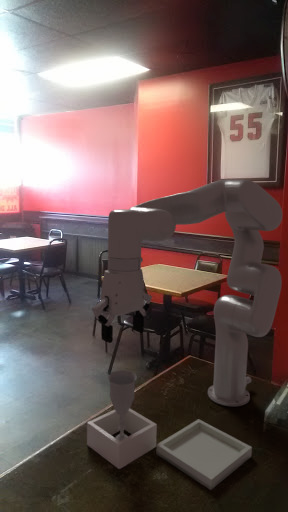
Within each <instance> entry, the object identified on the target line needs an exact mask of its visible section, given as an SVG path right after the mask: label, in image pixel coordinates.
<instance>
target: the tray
mask: <svg viewBox="0 0 288 512" xmlns="http://www.w3.org/2000/svg"><path fill="white" fill-rule="evenodd" d="M252 450H253V447H252V446H251V445H250V444H247V443H245V442H243V441H241V440H239V439H237V438H236V437H234V436H233V435H230V434H228V433H226V432H224V431H222V430H220V429H219V428H216V427H215V426H212V425H211V424H209V423H206V422H205V421H203V420H201V419H199V418H198V419H196V420H195V421H193V422H191V423H190V424H188V425H187V426H185V427H183V428H182V429H180V430H179V431H177V432H175V433H173V434H172V435H170V436H168V437H167V438H165V439H163V440H162V441H160V442H158V443H156V454H155V455H157V456H158V457H160V458H161V459H163V460H165V461H166V462H168V463H170V464H171V465H173V467H175V468H177V469H178V470H179V471H181V472H183V473H184V474H186V475H187V476H188V477H190V478H192V479H193V480H194V481H196V482H198V483H200V484H201V485H202V486H204V487H205V488H207V489H209V490H210V491H212V490H213V489H215V487H217V486H218V485H219V484H220V483H221V482H222V481H224V480H225V479H226V478H227V477H228V476H230V475H231V474H232V473H233V472H235V471H236V470H237V469H239V467H241V466H242V465H244V463H246V462H247V461H248V460H249V459H250V458H251V457H252V453H253V451H252Z"/></svg>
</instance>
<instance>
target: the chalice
mask: <svg viewBox="0 0 288 512" xmlns="http://www.w3.org/2000/svg"><path fill="white" fill-rule="evenodd" d="M137 377H138V376H137V374H136V373H135V372H132V371H130V370H116V371H113V372H112V373H110V374H109V375H108V378H107V379H108V381H109V397H110V401H111V403H112V404H111V405H112V406H113V409H114V410H116V412H117V414H119V415H120V419H119V422H120V426H119V427H118V429H119V430H120V431H119V434H117V435H115V437H114V438H116V439H117V440H119V441H121V440H123V439H125V438H127V437H129V436H128V435H127V434H125V433H124V431H125V430H124V429H125V426H124V422H125V419H124V414H126V413H127V412H128V410H129V409H131V407H132V405H133V403H134V402H133V401H134V399H135V389H136V388H135V387H136V386H135V383H136V381H137Z"/></svg>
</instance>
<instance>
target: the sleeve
mask: <svg viewBox="0 0 288 512" xmlns="http://www.w3.org/2000/svg"><path fill="white" fill-rule="evenodd" d="M119 419H120V415H119V414H117V412H116V410H115V409H113V410H111V411H108V412H106V413H105V414H102V415H100V416H98V417H95V418H93V419H91V420H89V421H87V422H86V426H87V427H86V445H87V446H88V447H89V448H91V449H92V450H93V451H95V452H96V453H97V454H99V456H101V457H102V458H104V459H105V460H106V461H108V462H109V463H111V465H113V466H114V467H115V468H117V469H118V470H120V469H122V468H124V467H126V466H127V465H129V464H130V463H132V462H133V461H136V460H137V459H139V458H140V457H142V456H143V455H145V454H147V453H149V452H150V451H151V450H153V449H154V448H155V449H156V448H157V432H158V431H157V427H158V426H157V425H158V424H157V423H155V422H154V421H152V420H151V419H148V417H147V418H146V416H143V415H142V414H140V413H138V412H137V411H135V410H133V409H132V408H130V409H129V410H128V412H127V413H126V414H124V419H125V422H124V426H125V429H124V431H126V432H128V433H130V435H129V436H128V437H127V438H125V439H123V440H121V441H119V440H117V439H116V438H115V437H114V436H113V435H114V434H115V435H116V433H118V432H120V430H119V429H118V427H119V426H120V422H119Z"/></svg>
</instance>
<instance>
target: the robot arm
mask: <svg viewBox="0 0 288 512" xmlns="http://www.w3.org/2000/svg"><path fill="white" fill-rule="evenodd" d="M223 213H224V214H225V215H224V216H225V220H226V222H227V223H228V225H229V227H230V230H231V232H232V234H233V237H234V245H233V250H232V255H231V259H230V263H229V266H228V270H227V278H226V283H227V286H228V287H229V288H230V289H231V290H233V291H235V292H238V293H242V294H246V295H249V296H253V300H252V299H248V298H246V297H242V296H239V295H233V294H225V295H221V297H219V298H218V299H217V300H216V301H215V303H214V307H213V319H214V324H215V325H214V326H215V345H214V346H215V347H214V348H215V349H214V365H213V366H214V369H213V385H211V386H209V387H208V389H207V395H208V398H209V399H210V400H211V401H213V402H214V403H216V404H218V405H222V406H225V407H233V408H234V407H241V406H244V405H246V404H248V403H249V401H250V400H251V398H250V392H249V391H248V390H247V389H246V388H247V385H248V384H250V383H251V382H252V378H251V376H247V367H248V350H249V341H248V336H247V335H249V336H253V337H255V338H256V337H257V338H262V337H264V336H266V335H267V334H269V332H270V331H271V329H272V325H273V323H274V319H275V315H276V311H277V307H278V303H279V299H280V296H281V290H282V286H283V285H282V284H283V283H282V275H281V272H280V270H279V269H278V268H276V266H273V265H270V264H268V263H267V264H266V263H262V258H263V254H264V253H263V252H264V249H265V245H264V240H263V237H262V235H261V233H260V231H262V232H271V231H274V230H276V229H277V228H279V226H280V224H281V223H282V220H283V210H282V206H281V205H280V203H279V202H278V201H277V199H275V198H274V197H273V196H272V195H271V194H270V193H268V192H267V191H266V189H264V188H263V187H262V186H261V185H259V184H258V183H256V182H255V181H252V180H250V179H247V178H246V179H244V178H242V179H241V178H239V179H238V178H237V179H236V178H234V179H233V178H232V179H230V178H227V179H225V178H223V179H219V180H215V181H212V182H210V183H207V184H204V185H202V186H199V187H196V188H193V189H191V190H189V191H184V192H180V193H174V194H172V195H167V196H163V197H159V198H154V199H151V200H148V201H144V202H142V203H139V204H136V205H133V206H131V207H130V208H129V209H127V208H125V209H124V208H123V209H113V210H111V211H110V212H109V213H108V220H107V221H108V223H107V227H108V228H107V230H108V231H107V238H108V239H107V270H104V272H103V273H104V274H103V277H102V283H101V293H100V301H99V302H98V303H96V304H95V305H94V306H92V309H91V311H92V313H93V315H94V318H95V320H97V322H98V323H99V324H101V325H100V326H101V327H100V328H101V330H100V331H101V333H100V335H101V340H102V341H105V342H106V343H108V344H111V343H113V341H114V339H113V338H114V337H113V335H114V334H113V333H114V329H113V325H112V323H113V321H114V319H115V318H116V317H120V316H123V315H126V314H127V315H128V314H131V313H133V316H132V330H133V331H135V332H138V333H140V334H143V333H144V332H145V331H144V330H145V327H144V326H145V317H146V316H147V311H148V310H149V308H150V303H151V300H152V298H153V297H152V295H150V294H148V293H147V292H146V291H145V281H144V274H143V269H142V263H143V262H144V260H143V256H142V242H143V241H147V242H164V241H165V242H166V241H167V240H168V239H170V238H171V237H172V236H173V235H174V234H175V232H176V228H177V226H178V225H182V226H184V225H185V226H186V225H187V226H188V225H193V224H200V223H202V222H205V221H206V220H209V219H211V218H213V217H216V216H218V215H221V214H223Z"/></svg>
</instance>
